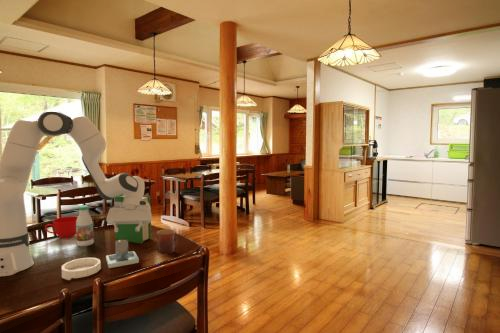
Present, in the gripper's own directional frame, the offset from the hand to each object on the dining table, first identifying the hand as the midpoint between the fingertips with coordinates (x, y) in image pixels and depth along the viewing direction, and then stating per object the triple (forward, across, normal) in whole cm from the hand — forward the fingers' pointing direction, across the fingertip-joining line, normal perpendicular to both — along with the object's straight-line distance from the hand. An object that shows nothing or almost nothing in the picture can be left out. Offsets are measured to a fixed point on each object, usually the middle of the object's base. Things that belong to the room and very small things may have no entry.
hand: (126, 231), depth 146 cm
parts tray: (+14, 0, +3) cm, 14 cm away
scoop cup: (+13, 0, +2) cm, 14 cm away
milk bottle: (-5, -27, +22) cm, 35 cm away
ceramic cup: (-14, -43, +31) cm, 55 cm away
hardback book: (-9, -4, +26) cm, 28 cm away
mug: (+5, +16, +12) cm, 21 cm away
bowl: (+20, -14, -3) cm, 25 cm away
